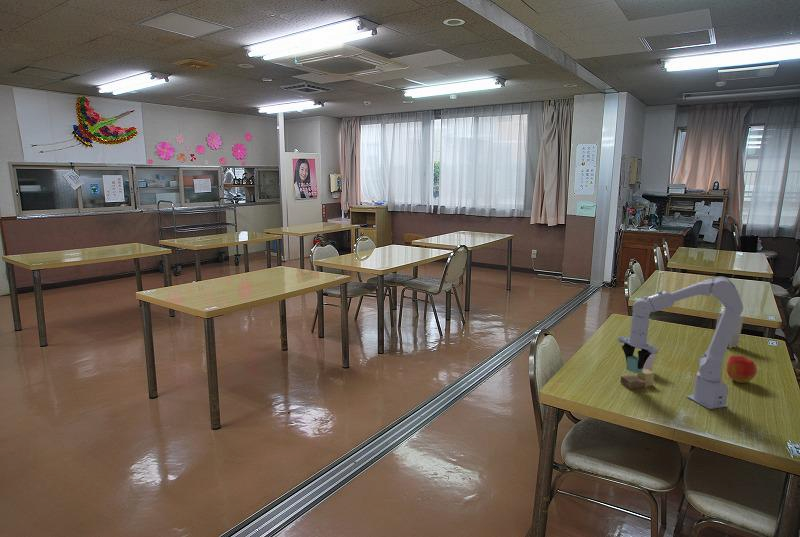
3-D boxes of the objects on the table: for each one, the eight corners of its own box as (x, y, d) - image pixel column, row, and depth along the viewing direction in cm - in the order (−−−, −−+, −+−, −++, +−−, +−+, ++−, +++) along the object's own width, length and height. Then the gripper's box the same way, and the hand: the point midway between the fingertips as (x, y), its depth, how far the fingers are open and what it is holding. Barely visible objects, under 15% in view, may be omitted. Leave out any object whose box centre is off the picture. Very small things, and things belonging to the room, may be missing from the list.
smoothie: (657, 374, 187) (661, 341, 184) (639, 373, 188) (643, 339, 185) (652, 368, 193) (656, 335, 190) (635, 366, 194) (639, 334, 191)
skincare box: (712, 343, 224) (717, 311, 221) (720, 341, 227) (725, 310, 224) (730, 349, 217) (735, 316, 214) (739, 347, 219) (744, 315, 216)
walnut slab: (644, 389, 174) (645, 382, 173) (630, 390, 173) (631, 382, 172) (634, 382, 180) (635, 375, 179) (620, 383, 179) (621, 376, 178)
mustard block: (652, 385, 177) (654, 373, 176) (644, 386, 176) (645, 374, 175) (644, 381, 181) (646, 368, 180) (636, 382, 180) (637, 369, 179)
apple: (743, 388, 176) (747, 363, 174) (718, 378, 184) (721, 354, 182) (759, 384, 179) (764, 359, 177) (734, 374, 188) (738, 351, 186)
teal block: (635, 373, 172) (637, 360, 171) (625, 369, 176) (627, 356, 175) (642, 371, 174) (644, 358, 173) (632, 367, 178) (634, 355, 177)
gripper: (664, 335, 168) (659, 371, 170) (627, 324, 180) (624, 357, 183) (652, 338, 164) (648, 374, 167) (616, 326, 177) (612, 360, 179)
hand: (634, 366), depth 175 cm, fingers closed on teal block, 4 cm apart
